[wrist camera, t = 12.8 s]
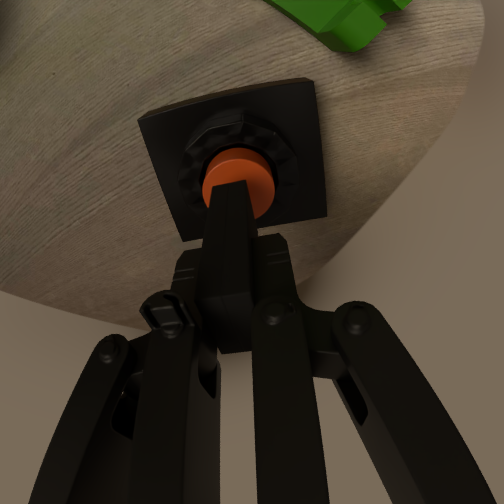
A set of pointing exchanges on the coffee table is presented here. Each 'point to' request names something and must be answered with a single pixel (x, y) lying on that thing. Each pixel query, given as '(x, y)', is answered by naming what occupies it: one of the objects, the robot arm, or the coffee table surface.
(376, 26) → the green ring bracket
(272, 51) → the coffee table surface
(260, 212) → the button
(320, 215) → the control block
